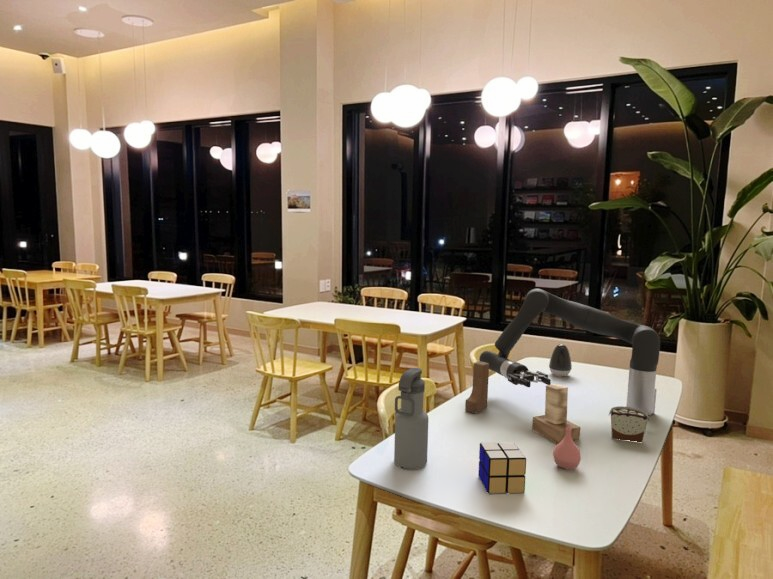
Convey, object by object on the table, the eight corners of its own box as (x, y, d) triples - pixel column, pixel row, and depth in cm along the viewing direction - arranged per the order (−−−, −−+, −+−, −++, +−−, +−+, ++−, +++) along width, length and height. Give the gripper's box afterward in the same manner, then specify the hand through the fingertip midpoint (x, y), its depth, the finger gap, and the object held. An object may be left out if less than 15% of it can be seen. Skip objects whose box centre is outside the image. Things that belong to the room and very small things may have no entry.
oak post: (555, 418, 177) (556, 384, 176) (566, 422, 172) (567, 387, 171) (544, 420, 174) (545, 385, 173) (555, 424, 170) (556, 389, 169)
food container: (644, 437, 173) (647, 408, 172) (647, 444, 168) (650, 415, 166) (605, 431, 177) (607, 403, 176) (606, 438, 172) (609, 409, 170)
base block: (552, 427, 182) (553, 413, 181) (579, 441, 170) (580, 427, 169) (531, 430, 178) (532, 416, 177) (558, 445, 166) (559, 430, 166)
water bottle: (416, 474, 144) (419, 378, 141) (387, 465, 149) (389, 372, 146) (432, 460, 153) (435, 369, 149) (404, 452, 158) (406, 364, 154)
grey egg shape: (550, 377, 240) (552, 346, 239) (547, 371, 251) (549, 341, 249) (572, 379, 239) (575, 347, 237) (568, 372, 249) (570, 342, 247)
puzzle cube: (477, 476, 144) (479, 442, 143) (512, 475, 145) (514, 441, 144) (487, 494, 134) (489, 458, 133) (524, 493, 135) (527, 457, 134)
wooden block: (474, 414, 191) (476, 367, 189) (464, 411, 194) (466, 365, 192) (487, 408, 198) (489, 363, 196) (477, 405, 201) (479, 360, 199)
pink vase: (558, 459, 156) (560, 421, 154) (583, 466, 151) (586, 427, 149) (548, 468, 150) (550, 428, 148) (574, 476, 145) (577, 436, 143)
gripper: (498, 363, 195) (523, 375, 180) (530, 360, 200) (556, 371, 185) (497, 382, 196) (522, 395, 181) (529, 379, 201) (555, 391, 186)
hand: (539, 383), depth 183 cm, fingers open, 8 cm apart
